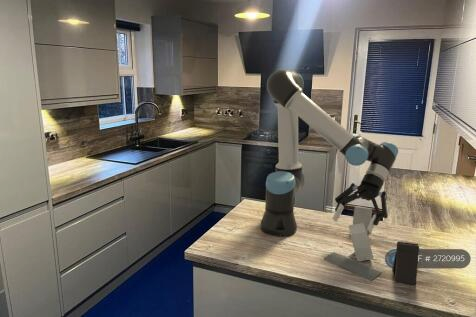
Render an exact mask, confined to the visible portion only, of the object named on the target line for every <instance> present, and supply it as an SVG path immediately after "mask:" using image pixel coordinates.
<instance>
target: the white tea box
mask: <svg viewBox="0 0 476 317" xmlns="http://www.w3.org/2000/svg"><path fill="white" fill-rule="evenodd" d="M352 217H353V219H352V225H355V224H360V223H364V226H365V228H366V231H367V228H368V226H369V224H370V222H371V220H372V217H373V208H368V207H363V206H362V207H361V206H356V205H355V206H354V211H353V216H352ZM367 234H369V233H368V231H367Z"/></svg>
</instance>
